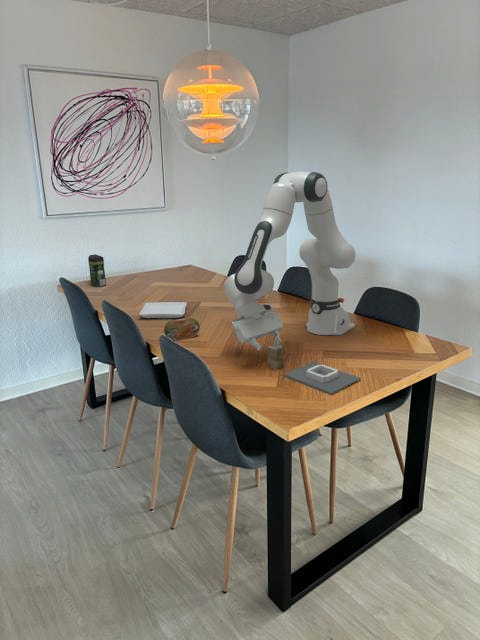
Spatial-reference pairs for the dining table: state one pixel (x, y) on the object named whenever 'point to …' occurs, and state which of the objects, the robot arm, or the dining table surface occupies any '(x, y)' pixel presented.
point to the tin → (181, 329)
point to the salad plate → (163, 310)
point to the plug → (275, 356)
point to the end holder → (322, 377)
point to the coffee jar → (97, 270)
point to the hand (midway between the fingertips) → (269, 346)
